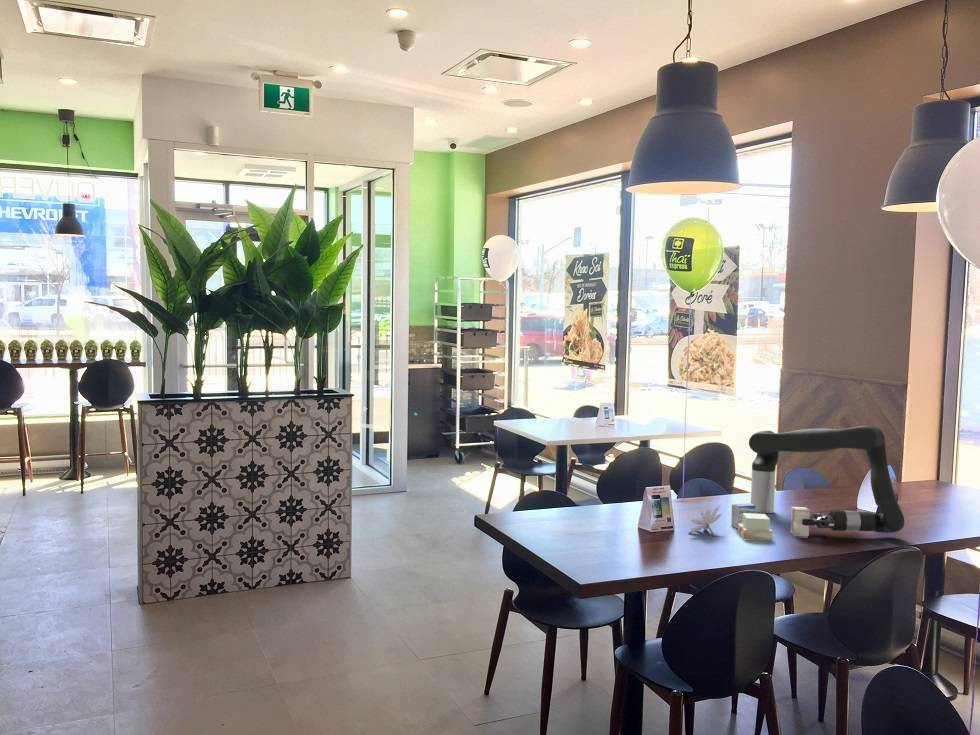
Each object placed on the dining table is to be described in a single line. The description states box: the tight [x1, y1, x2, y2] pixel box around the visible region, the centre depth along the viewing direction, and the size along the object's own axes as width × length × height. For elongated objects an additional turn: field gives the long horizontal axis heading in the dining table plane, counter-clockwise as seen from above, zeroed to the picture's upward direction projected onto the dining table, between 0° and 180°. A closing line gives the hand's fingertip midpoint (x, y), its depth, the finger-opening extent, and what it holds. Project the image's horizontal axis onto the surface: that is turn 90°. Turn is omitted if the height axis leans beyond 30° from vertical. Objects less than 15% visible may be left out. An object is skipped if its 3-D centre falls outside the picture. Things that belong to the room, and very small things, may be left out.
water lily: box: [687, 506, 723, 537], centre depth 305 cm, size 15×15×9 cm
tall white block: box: [790, 506, 811, 537], centre depth 305 cm, size 5×5×10 cm
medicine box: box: [730, 502, 757, 529], centre depth 317 cm, size 8×4×9 cm, turn 105°
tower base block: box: [737, 523, 774, 541], centre depth 303 cm, size 10×10×4 cm
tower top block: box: [742, 513, 771, 530], centre depth 303 cm, size 8×8×4 cm
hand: (799, 519), depth 305 cm, fingers open, 8 cm apart
